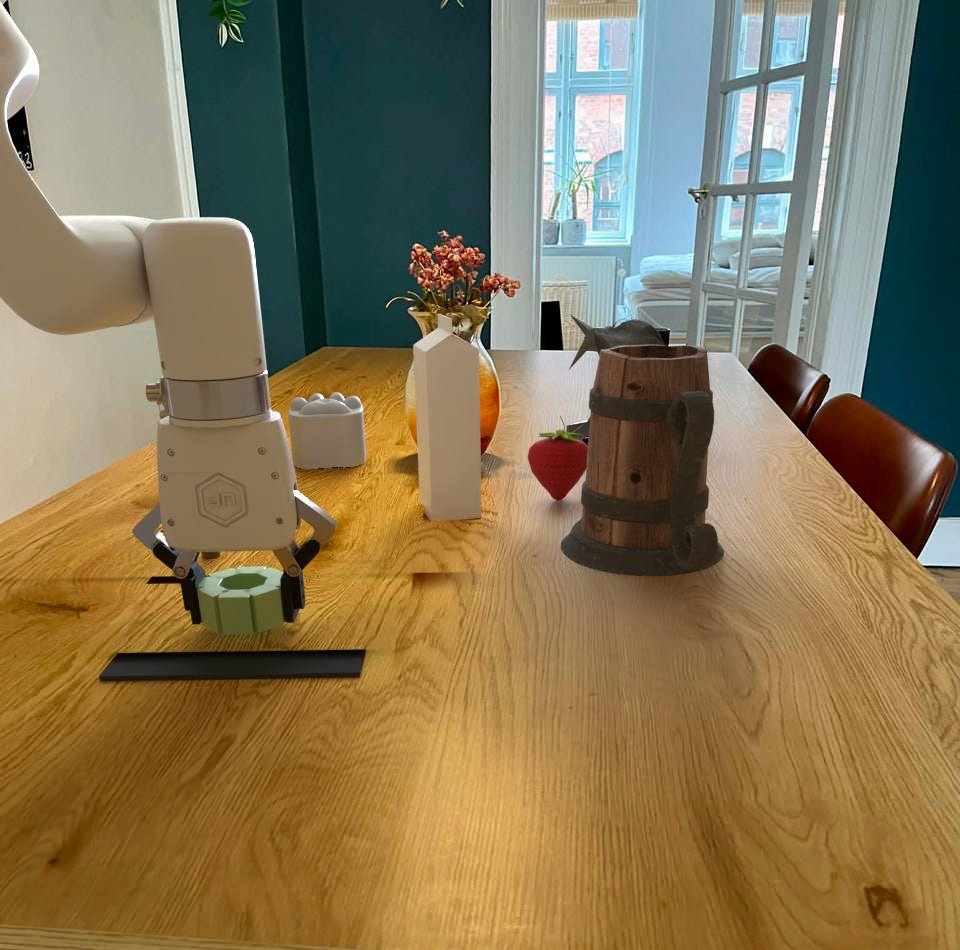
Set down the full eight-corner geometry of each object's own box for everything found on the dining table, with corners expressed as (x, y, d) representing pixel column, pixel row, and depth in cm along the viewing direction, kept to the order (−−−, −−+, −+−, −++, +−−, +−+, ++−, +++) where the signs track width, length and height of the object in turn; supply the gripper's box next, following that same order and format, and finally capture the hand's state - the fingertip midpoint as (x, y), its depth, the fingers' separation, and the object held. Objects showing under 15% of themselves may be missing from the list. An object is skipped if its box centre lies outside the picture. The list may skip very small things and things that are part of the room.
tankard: (541, 528, 105) (544, 341, 97) (684, 517, 108) (698, 334, 100) (612, 608, 84) (624, 378, 76) (786, 591, 87) (816, 368, 79)
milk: (431, 524, 107) (422, 320, 98) (419, 508, 113) (409, 314, 103) (483, 518, 109) (479, 317, 99) (468, 503, 114) (463, 311, 105)
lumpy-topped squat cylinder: (290, 470, 130) (284, 406, 126) (296, 448, 141) (290, 389, 138) (366, 467, 131) (362, 403, 127) (365, 445, 142) (362, 387, 139)
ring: (193, 635, 75) (187, 598, 73) (215, 601, 81) (210, 566, 80) (282, 634, 75) (277, 596, 73) (297, 600, 81) (293, 565, 80)
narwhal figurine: (656, 455, 135) (665, 323, 127) (552, 448, 139) (555, 320, 132) (671, 433, 147) (680, 312, 140) (575, 427, 152) (579, 309, 144)
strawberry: (523, 494, 117) (523, 413, 113) (582, 491, 118) (584, 411, 114) (532, 508, 112) (532, 423, 108) (593, 504, 113) (597, 421, 109)
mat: (99, 680, 73) (98, 676, 72) (155, 609, 85) (154, 605, 85) (359, 677, 73) (359, 672, 72) (376, 606, 85) (376, 602, 85)
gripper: (83, 410, 67) (127, 638, 75) (328, 406, 67) (346, 634, 75) (119, 391, 74) (156, 601, 81) (341, 387, 74) (357, 598, 81)
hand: (247, 615), depth 78 cm, fingers closed on ring, 6 cm apart
